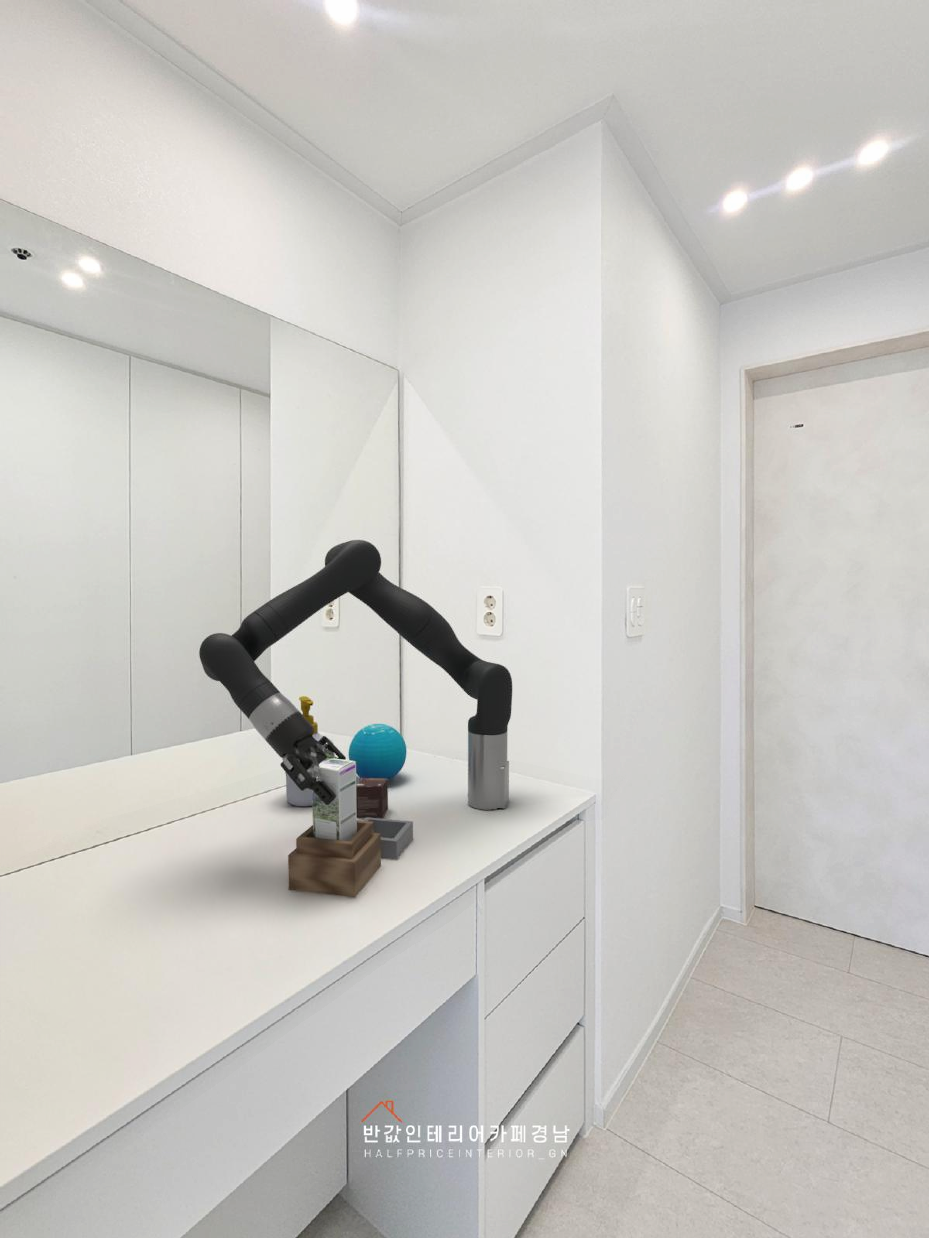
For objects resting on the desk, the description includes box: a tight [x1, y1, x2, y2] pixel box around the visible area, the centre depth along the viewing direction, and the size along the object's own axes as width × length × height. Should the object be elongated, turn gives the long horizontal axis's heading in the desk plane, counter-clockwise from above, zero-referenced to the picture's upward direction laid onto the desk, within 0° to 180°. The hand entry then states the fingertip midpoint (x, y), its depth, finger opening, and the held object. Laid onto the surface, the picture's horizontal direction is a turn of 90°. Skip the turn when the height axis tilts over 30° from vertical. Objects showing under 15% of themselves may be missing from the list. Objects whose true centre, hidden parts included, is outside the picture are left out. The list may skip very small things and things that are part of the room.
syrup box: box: [312, 758, 358, 841], centre depth 109 cm, size 6×6×14 cm
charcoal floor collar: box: [362, 817, 414, 860], centre depth 123 cm, size 10×10×4 cm
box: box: [356, 778, 389, 819], centre depth 140 cm, size 6×6×7 cm
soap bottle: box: [281, 696, 334, 807], centre depth 148 cm, size 13×13×25 cm
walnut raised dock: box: [287, 819, 382, 899], centre depth 110 cm, size 12×12×8 cm
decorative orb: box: [348, 723, 408, 781], centre depth 163 cm, size 15×15×15 cm
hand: (342, 792), depth 109 cm, fingers open, 8 cm apart
